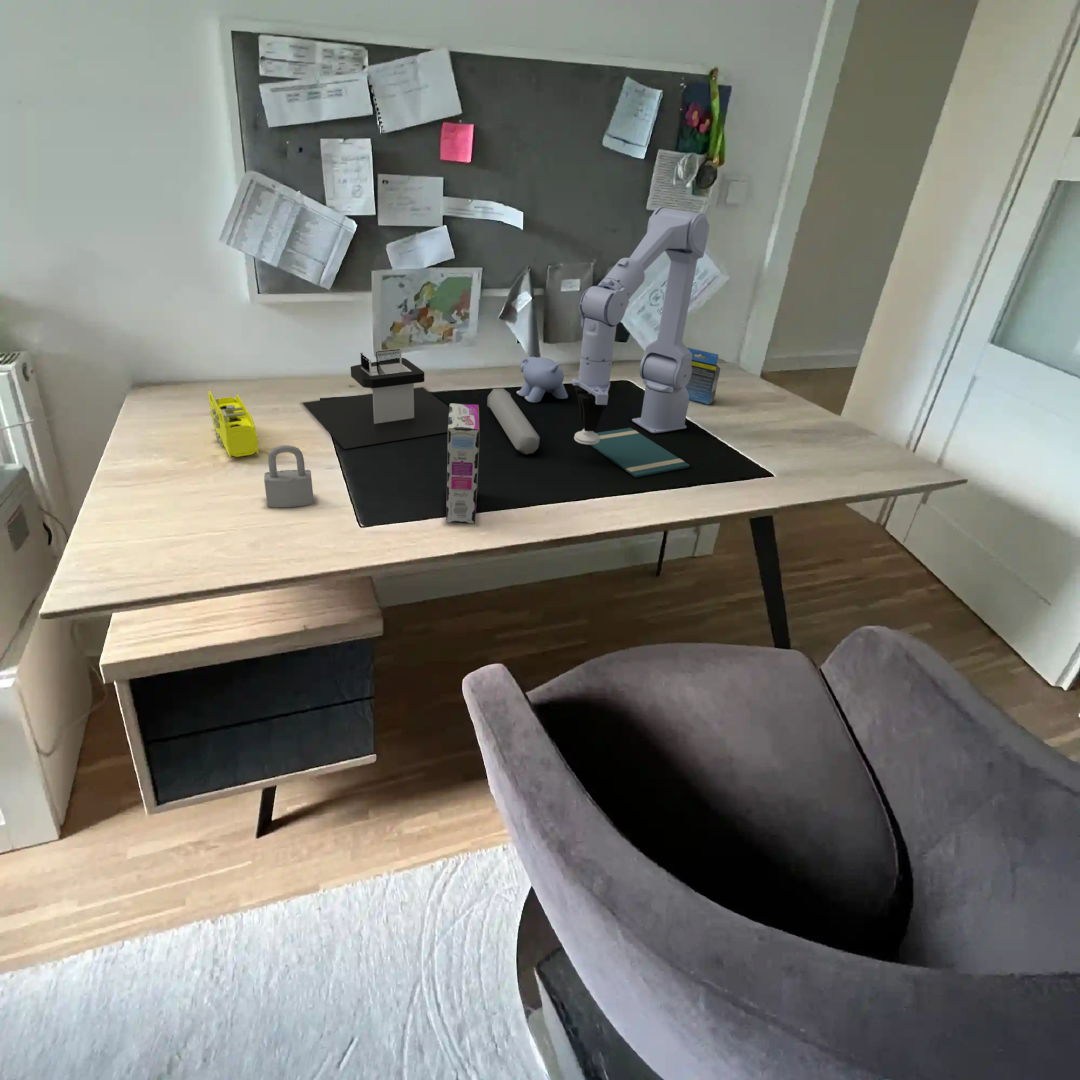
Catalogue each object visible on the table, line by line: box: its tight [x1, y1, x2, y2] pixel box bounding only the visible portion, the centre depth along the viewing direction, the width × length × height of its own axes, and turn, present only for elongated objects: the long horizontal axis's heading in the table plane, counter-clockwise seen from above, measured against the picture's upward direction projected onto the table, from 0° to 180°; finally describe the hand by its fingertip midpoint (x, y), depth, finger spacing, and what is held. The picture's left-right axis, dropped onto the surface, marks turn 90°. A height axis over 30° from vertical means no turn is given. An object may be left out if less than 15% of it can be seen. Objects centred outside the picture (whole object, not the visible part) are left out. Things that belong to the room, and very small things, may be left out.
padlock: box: [263, 444, 315, 508], centre depth 116 cm, size 7×4×10 cm, turn 107°
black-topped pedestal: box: [302, 347, 450, 450], centre depth 150 cm, size 28×26×13 cm
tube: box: [486, 388, 541, 455], centre depth 149 cm, size 5×5×25 cm
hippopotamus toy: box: [516, 356, 569, 403], centre depth 169 cm, size 11×15×10 cm
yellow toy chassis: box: [207, 390, 259, 458], centre depth 134 cm, size 16×6×8 cm, turn 31°
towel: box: [590, 427, 690, 478], centre depth 146 cm, size 13×20×1 cm, turn 29°
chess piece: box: [573, 393, 600, 446], centre depth 136 cm, size 5×5×10 cm
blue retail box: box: [685, 346, 721, 406], centre depth 173 cm, size 9×4×12 cm, turn 58°
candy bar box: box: [445, 403, 481, 525], centre depth 117 cm, size 11×5×16 cm, turn 5°
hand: (588, 427), depth 137 cm, fingers closed on chess piece
